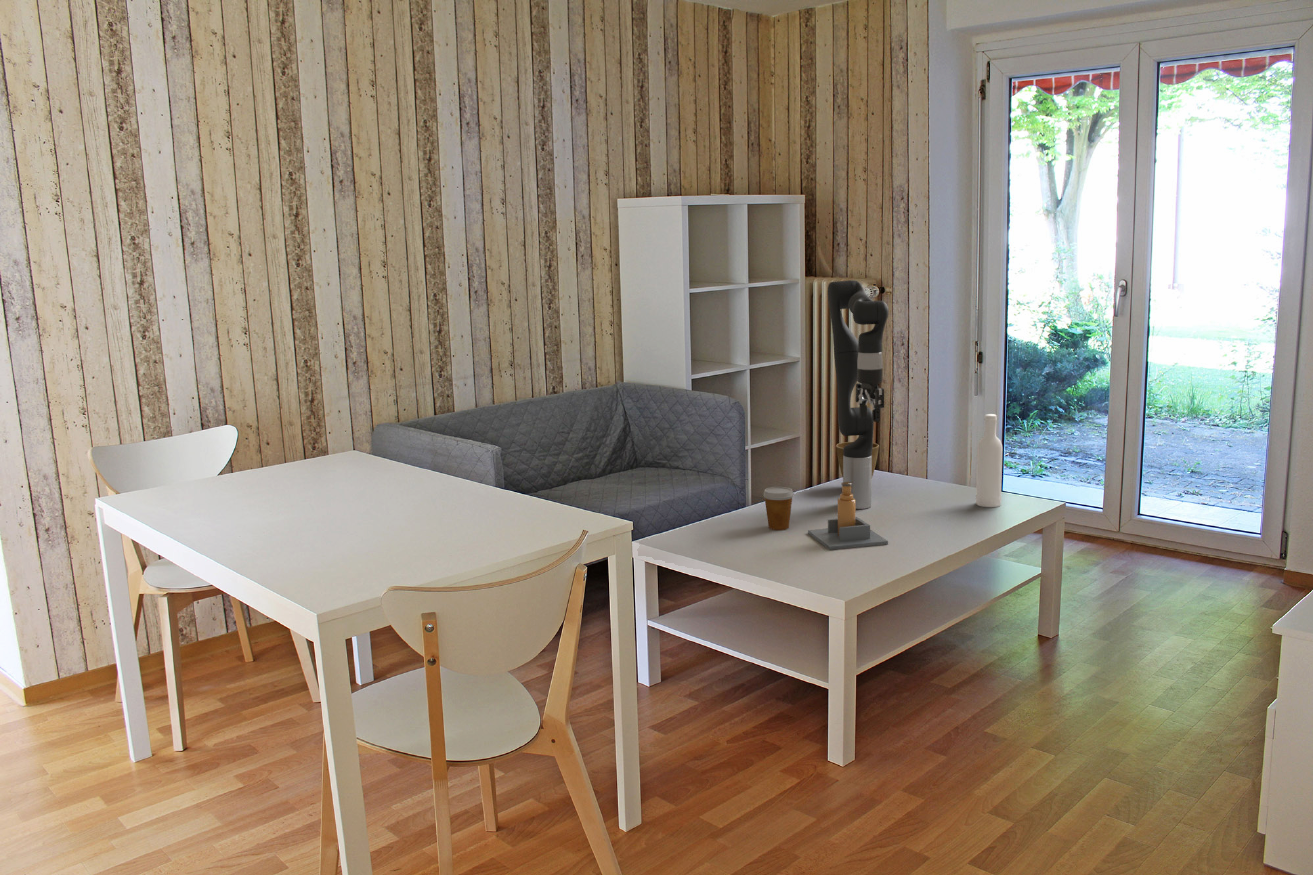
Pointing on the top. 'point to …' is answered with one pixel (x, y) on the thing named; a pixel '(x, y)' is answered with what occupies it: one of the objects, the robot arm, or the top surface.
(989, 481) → the bottle
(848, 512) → the bottle
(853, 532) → the u rest
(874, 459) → the plant pot
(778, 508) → the disposable coffee cup
